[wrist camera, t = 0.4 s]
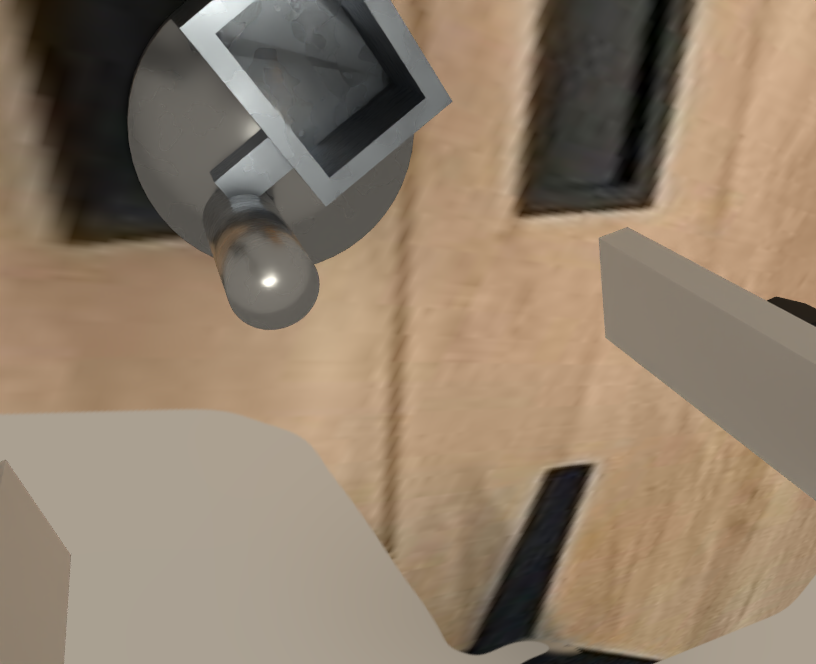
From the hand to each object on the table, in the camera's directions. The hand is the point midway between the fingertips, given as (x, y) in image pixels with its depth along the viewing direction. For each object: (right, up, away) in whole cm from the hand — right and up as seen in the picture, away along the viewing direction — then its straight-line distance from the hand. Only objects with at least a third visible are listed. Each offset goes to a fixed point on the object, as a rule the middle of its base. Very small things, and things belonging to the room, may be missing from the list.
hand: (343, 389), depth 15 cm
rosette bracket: (-6, +12, +23) cm, 27 cm away
